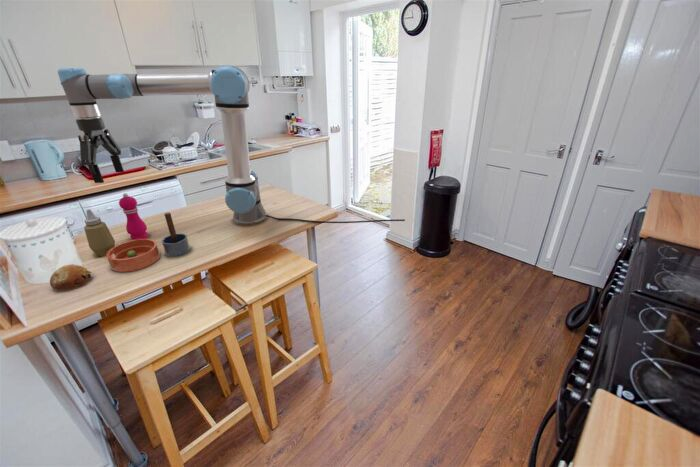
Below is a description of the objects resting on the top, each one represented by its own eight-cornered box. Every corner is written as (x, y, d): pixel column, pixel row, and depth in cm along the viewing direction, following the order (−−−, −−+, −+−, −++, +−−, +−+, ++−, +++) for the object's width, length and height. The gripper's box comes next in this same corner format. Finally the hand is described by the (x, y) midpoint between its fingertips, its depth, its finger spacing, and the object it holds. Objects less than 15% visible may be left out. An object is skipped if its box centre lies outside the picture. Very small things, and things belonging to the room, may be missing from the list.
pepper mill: (140, 242, 131) (125, 197, 122) (125, 241, 132) (109, 195, 123) (153, 234, 137) (139, 191, 128) (139, 233, 138) (124, 189, 129)
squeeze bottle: (99, 259, 119) (80, 216, 110) (89, 254, 123) (70, 211, 114) (122, 250, 125) (106, 208, 117) (112, 245, 129) (95, 204, 120)
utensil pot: (193, 245, 128) (189, 232, 126) (186, 257, 121) (182, 243, 118) (170, 247, 127) (166, 234, 124) (162, 258, 119) (158, 244, 117)
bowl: (166, 249, 126) (163, 237, 123) (150, 271, 112) (146, 258, 109) (124, 252, 124) (119, 240, 121) (102, 275, 110) (97, 261, 107)
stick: (181, 249, 125) (171, 212, 117) (179, 252, 123) (169, 214, 116) (176, 249, 124) (165, 212, 117) (174, 252, 123) (163, 214, 115)
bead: (139, 255, 120) (136, 248, 119) (135, 259, 118) (133, 252, 116) (130, 256, 120) (128, 249, 119) (126, 260, 117) (124, 253, 116)
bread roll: (77, 282, 112) (59, 266, 108) (101, 271, 110) (82, 253, 107) (57, 300, 103) (35, 283, 99) (82, 288, 102) (61, 270, 98)
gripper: (98, 113, 121) (117, 168, 131) (50, 123, 99) (78, 188, 109) (119, 113, 122) (136, 167, 131) (76, 122, 99) (101, 187, 109)
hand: (110, 177), depth 120 cm, fingers open, 13 cm apart
